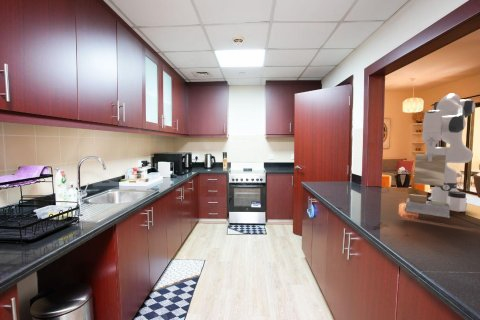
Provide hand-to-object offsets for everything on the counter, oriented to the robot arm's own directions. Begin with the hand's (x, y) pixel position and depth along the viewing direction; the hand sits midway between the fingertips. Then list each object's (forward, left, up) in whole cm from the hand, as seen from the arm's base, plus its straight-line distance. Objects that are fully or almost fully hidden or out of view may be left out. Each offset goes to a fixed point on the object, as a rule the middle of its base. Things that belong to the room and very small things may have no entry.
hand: (429, 161), depth 144 cm
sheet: (0, 0, -14) cm, 14 cm away
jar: (-13, +14, -31) cm, 37 cm away
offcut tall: (+4, -5, -30) cm, 30 cm away
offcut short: (+4, +5, -30) cm, 30 cm away
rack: (+3, 0, -31) cm, 31 cm away
